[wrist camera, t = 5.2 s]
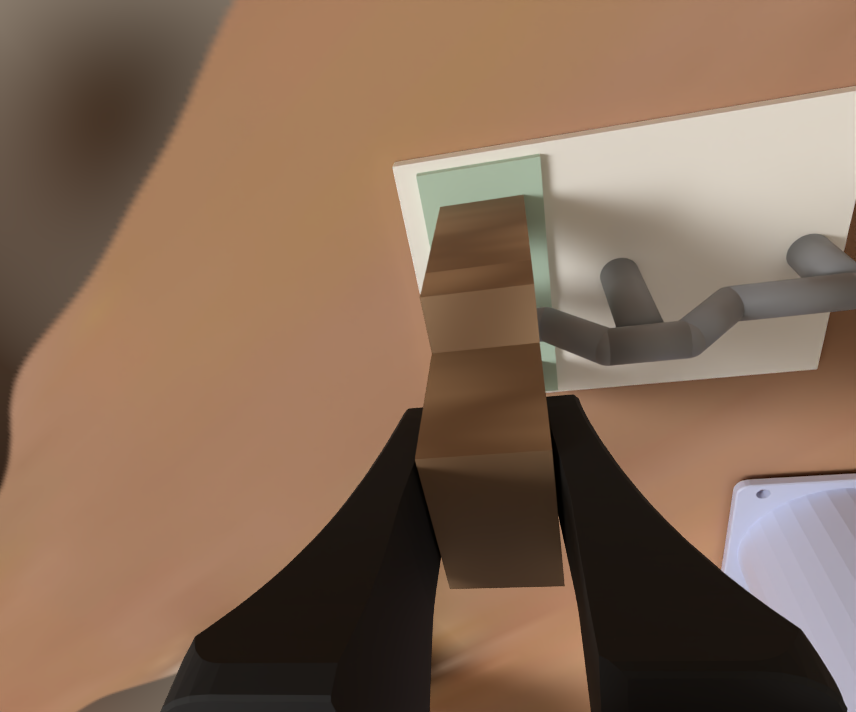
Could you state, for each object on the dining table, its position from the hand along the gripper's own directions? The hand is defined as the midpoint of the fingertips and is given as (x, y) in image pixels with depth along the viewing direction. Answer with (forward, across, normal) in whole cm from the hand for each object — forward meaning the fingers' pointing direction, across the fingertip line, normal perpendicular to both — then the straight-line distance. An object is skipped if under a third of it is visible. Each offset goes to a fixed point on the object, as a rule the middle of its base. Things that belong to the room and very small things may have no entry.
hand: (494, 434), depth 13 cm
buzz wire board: (+8, -4, 0) cm, 9 cm away
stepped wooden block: (+7, 0, 0) cm, 7 cm away
